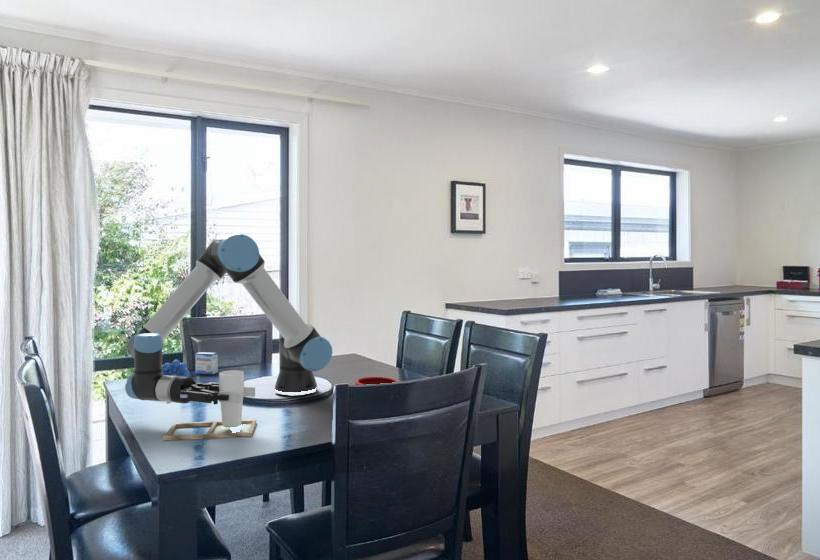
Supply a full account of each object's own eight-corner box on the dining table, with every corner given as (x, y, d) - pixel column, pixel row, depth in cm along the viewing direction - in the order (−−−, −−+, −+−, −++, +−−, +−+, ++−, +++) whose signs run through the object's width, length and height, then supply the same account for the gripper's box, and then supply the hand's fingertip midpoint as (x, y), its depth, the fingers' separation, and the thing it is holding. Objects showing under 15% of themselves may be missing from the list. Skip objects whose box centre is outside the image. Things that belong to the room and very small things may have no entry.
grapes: (186, 388, 212) (186, 356, 211) (191, 392, 206) (191, 359, 206) (152, 393, 205) (152, 359, 204) (156, 396, 199) (156, 362, 199)
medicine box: (195, 374, 238) (194, 353, 238) (200, 371, 243) (200, 351, 242) (212, 374, 237) (212, 354, 237) (218, 372, 242) (217, 352, 241)
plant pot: (363, 428, 163) (363, 386, 163) (349, 416, 175) (349, 377, 175) (405, 423, 169) (405, 382, 168) (389, 411, 181) (389, 374, 180)
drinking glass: (249, 423, 163) (248, 371, 162) (234, 429, 156) (234, 375, 156) (229, 420, 165) (228, 369, 165) (213, 427, 159) (213, 373, 158)
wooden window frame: (256, 422, 168) (256, 419, 168) (251, 436, 156) (251, 432, 156) (174, 426, 164) (174, 423, 164) (162, 440, 152) (162, 437, 152)
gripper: (197, 394, 175) (265, 399, 169) (153, 410, 156) (227, 417, 150) (197, 370, 174) (265, 374, 168) (153, 383, 156) (227, 389, 150)
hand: (247, 394), depth 159 cm, fingers closed on drinking glass, 7 cm apart
